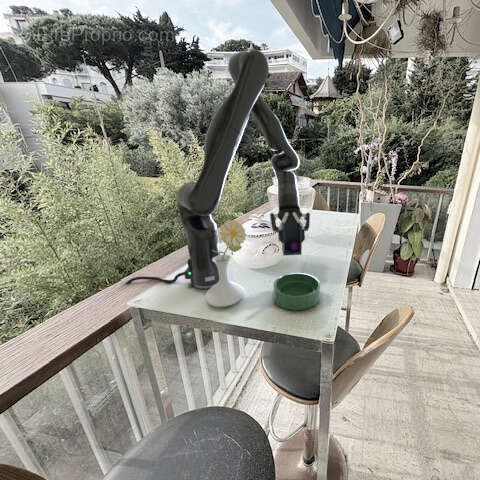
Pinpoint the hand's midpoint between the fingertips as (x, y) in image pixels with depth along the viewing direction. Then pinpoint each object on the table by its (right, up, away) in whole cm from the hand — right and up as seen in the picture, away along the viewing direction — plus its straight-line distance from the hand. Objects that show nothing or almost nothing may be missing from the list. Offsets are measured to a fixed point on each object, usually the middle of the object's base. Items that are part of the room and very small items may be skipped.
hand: (292, 241), depth 88 cm
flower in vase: (-19, -18, -7) cm, 27 cm away
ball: (+1, -2, +2) cm, 3 cm away
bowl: (+2, -18, -5) cm, 18 cm away
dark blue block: (-1, -3, +3) cm, 5 cm away
